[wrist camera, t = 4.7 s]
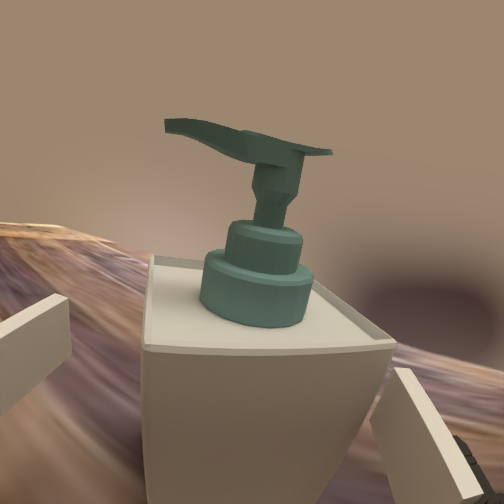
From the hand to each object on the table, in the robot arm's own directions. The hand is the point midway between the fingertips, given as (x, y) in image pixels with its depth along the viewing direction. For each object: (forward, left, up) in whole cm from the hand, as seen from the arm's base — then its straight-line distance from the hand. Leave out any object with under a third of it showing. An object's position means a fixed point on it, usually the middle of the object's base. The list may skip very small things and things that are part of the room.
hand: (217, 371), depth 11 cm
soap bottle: (-1, -2, -11) cm, 11 cm away
